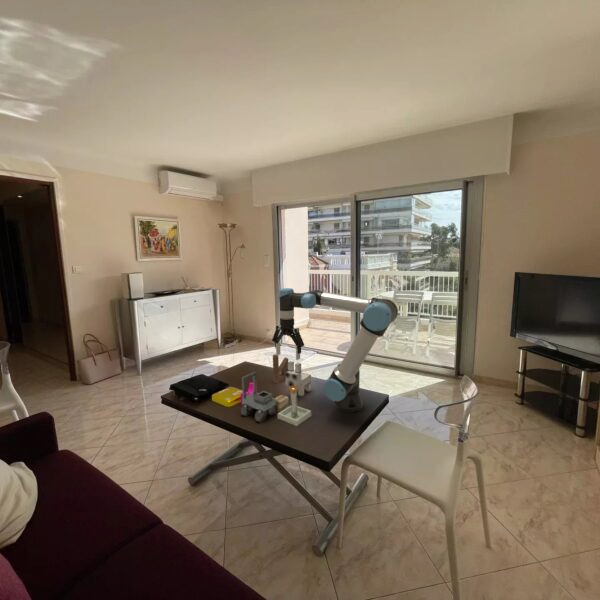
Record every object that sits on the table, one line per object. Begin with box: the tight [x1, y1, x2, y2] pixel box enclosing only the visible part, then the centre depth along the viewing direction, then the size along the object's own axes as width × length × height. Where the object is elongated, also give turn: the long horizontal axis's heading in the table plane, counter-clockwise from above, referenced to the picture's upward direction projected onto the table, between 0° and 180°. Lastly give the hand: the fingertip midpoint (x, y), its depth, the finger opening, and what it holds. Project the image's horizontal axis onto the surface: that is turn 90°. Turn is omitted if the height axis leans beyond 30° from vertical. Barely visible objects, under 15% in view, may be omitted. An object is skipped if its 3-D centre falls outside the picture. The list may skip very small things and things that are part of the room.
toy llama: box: [285, 361, 312, 398], centre depth 186 cm, size 8×18×20 cm, turn 146°
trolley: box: [240, 371, 278, 423], centre depth 161 cm, size 15×14×20 cm
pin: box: [288, 386, 298, 418], centre depth 158 cm, size 5×5×15 cm
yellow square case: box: [211, 386, 242, 408], centre depth 180 cm, size 15×15×5 cm
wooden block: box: [271, 354, 289, 384], centre depth 204 cm, size 4×11×18 cm, turn 130°
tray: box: [276, 405, 312, 427], centre depth 159 cm, size 12×12×3 cm
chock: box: [275, 394, 290, 413], centre depth 168 cm, size 5×7×6 cm
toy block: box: [240, 382, 258, 406], centre depth 178 cm, size 15×6×8 cm, turn 168°
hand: (288, 356), depth 170 cm, fingers open, 13 cm apart
